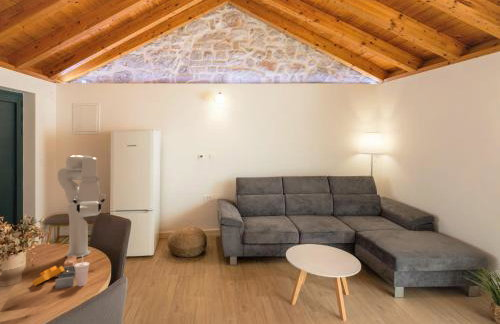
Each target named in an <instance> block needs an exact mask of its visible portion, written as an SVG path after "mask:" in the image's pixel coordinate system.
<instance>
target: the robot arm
mask: <svg viewBox="0 0 500 324" xmlns="http://www.w3.org/2000/svg"><path fill="white" fill-rule="evenodd" d="M57 180H58V184H59V185H60V186H61V188H62V189H63V190H64V192H65V196H66V200H67V203H69V204H68V206H67V213H68V219H69V220H68V221H69V223H68V224H69V232H68V233H69V235H68V236H69V237H68V238H69V241H68V243H69V246H68V248H69V249H68V250H69V251H68V252H66V253H65V255H66V256H65V257H67V258H68V256H76V258H82V255H83V257H85V256H88V255H90V254H91V250H90V249H88V247H89V246H88V245H89V243H88V242H89V241H88V239H89V237H88V235H89V226H88V225H89V224H88V222H87V220H85V218H87V217H96V216H99V215H100V213H101V211H102V204H103V203H104V202H105V201H106V199H107V196H108V195H107V194H104V193H102V192H101V189H100V183H99V182H100V181H101V178H100V177H98V158H97V157H94V156H90V155H85V154H84V155H83V154H81V155H80V154H78V155H77V154H75V155H69V156H67V158H65V167H62V168H59V169H58V171H57ZM76 181H81V182H80V183H78V182H76ZM101 197H103V198H102V199H100V198H101Z"/></svg>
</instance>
